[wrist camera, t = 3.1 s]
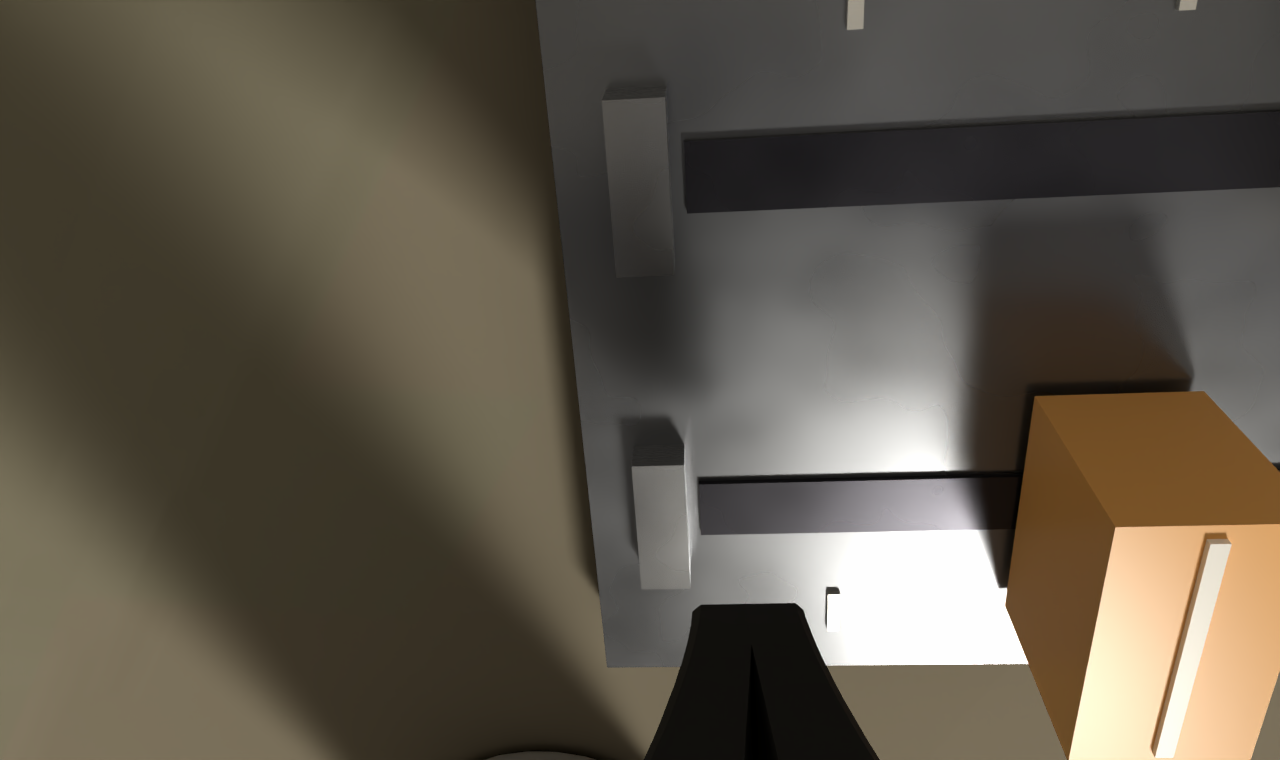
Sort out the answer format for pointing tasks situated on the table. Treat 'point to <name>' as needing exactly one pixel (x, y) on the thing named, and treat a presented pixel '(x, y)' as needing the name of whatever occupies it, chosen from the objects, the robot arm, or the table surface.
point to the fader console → (890, 285)
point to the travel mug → (539, 756)
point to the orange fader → (1147, 576)
